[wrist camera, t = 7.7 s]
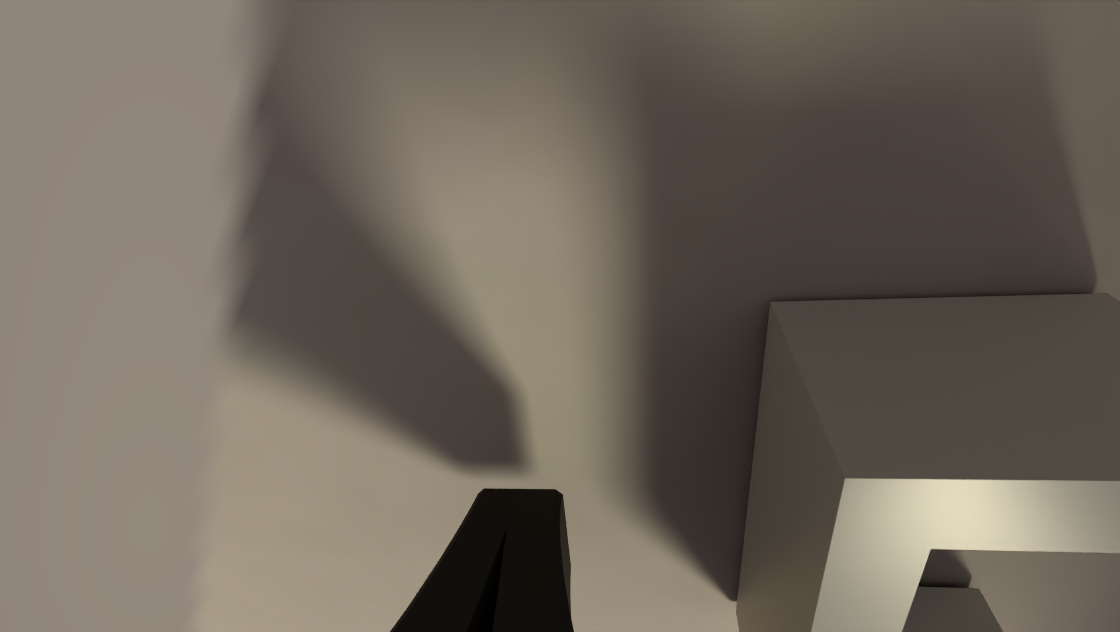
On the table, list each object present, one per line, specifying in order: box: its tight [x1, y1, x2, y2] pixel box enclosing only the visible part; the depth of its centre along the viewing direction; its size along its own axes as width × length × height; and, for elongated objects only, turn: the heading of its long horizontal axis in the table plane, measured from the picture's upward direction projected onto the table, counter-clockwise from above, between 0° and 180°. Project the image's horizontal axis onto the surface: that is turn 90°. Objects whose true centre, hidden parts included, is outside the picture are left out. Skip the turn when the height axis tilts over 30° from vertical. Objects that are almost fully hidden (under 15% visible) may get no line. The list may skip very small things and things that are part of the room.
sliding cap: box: [736, 293, 1120, 632], centre depth 9 cm, size 8×4×4 cm, turn 5°
